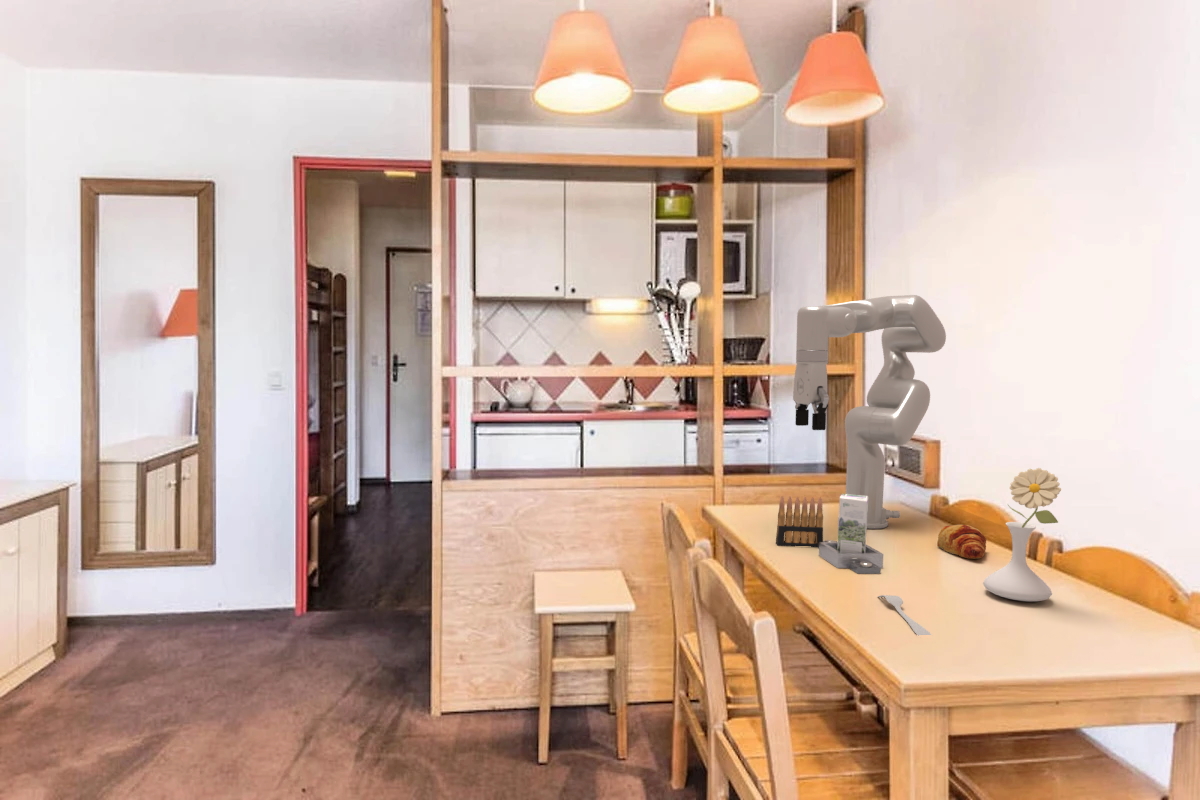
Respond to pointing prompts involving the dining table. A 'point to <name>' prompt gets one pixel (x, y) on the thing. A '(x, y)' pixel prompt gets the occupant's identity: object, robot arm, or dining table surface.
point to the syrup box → (852, 523)
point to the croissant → (962, 541)
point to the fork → (897, 603)
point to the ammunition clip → (799, 529)
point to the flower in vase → (1025, 538)
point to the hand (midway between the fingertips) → (810, 427)
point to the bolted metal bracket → (852, 558)
